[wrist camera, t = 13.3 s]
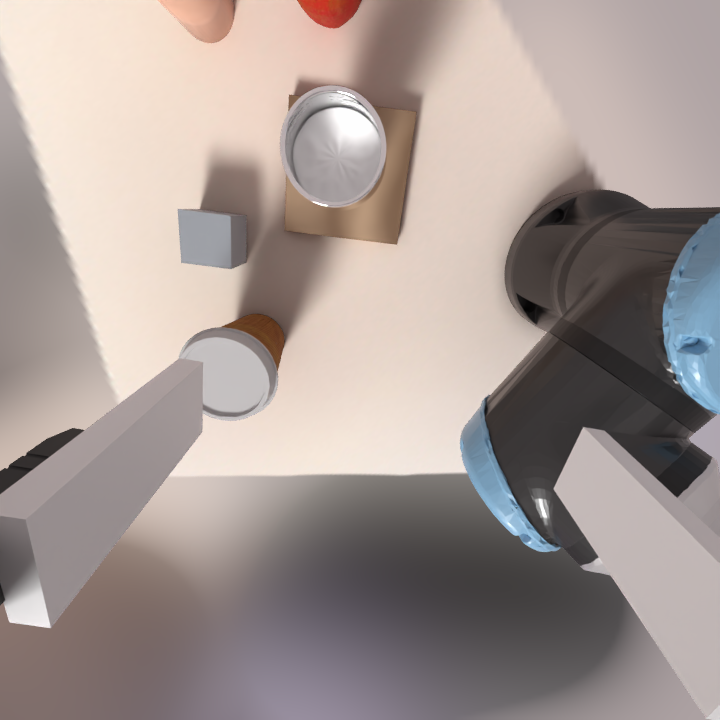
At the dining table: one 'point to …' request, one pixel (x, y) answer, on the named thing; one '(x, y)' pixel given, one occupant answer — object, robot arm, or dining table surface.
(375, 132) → the steel tumbler
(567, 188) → the dining table surface
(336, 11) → the apple
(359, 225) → the walnut board
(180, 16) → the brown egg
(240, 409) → the disposable coffee cup
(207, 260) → the slate block
